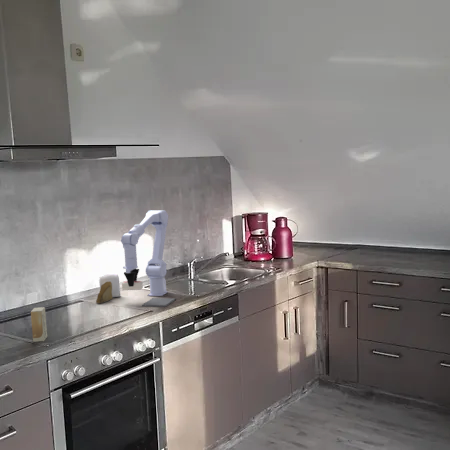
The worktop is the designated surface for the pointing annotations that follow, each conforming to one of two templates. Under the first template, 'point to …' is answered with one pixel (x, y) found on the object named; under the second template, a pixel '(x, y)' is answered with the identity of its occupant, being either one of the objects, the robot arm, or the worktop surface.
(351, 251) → the worktop surface
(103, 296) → the rock
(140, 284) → the card deck
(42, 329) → the skincare box
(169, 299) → the mat
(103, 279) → the photo printer
